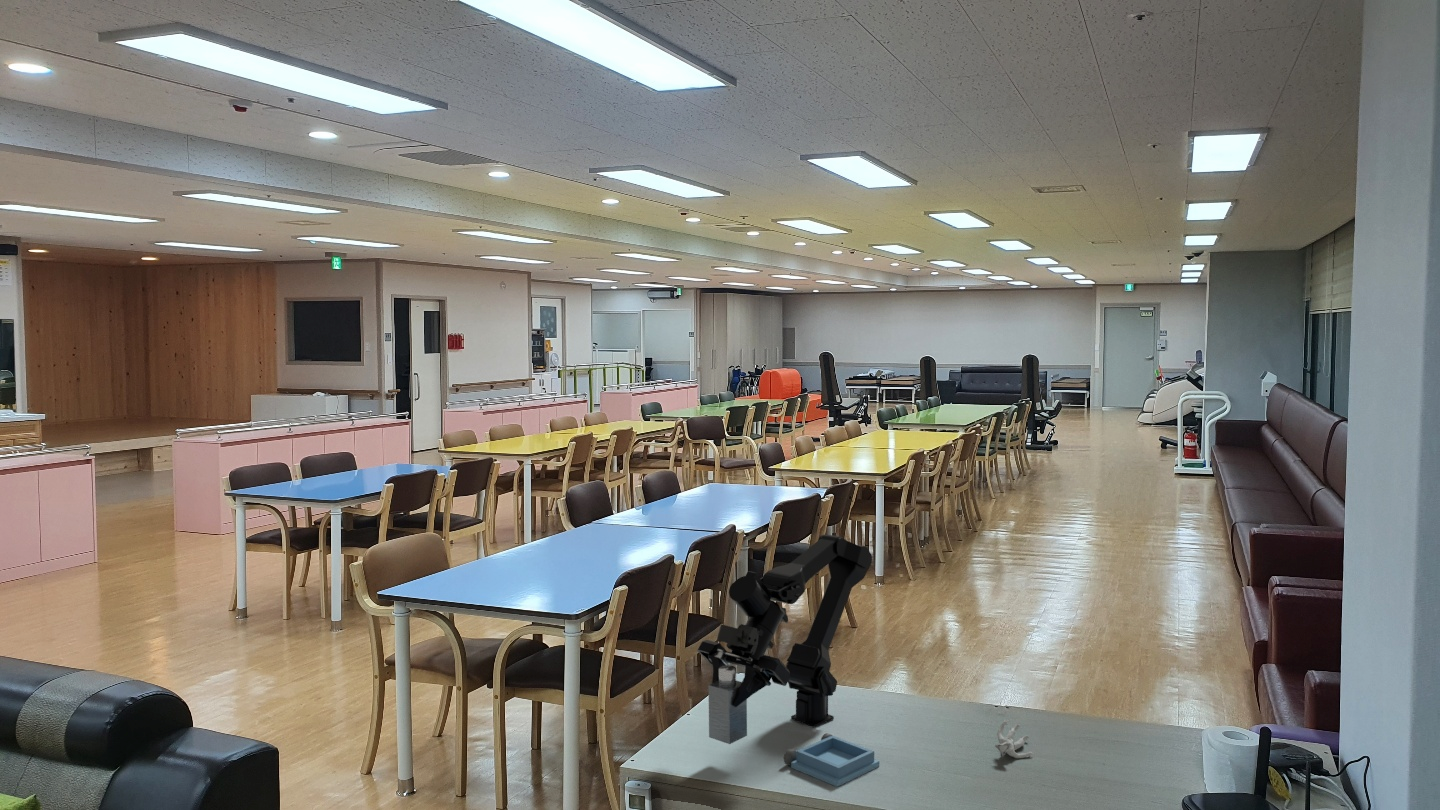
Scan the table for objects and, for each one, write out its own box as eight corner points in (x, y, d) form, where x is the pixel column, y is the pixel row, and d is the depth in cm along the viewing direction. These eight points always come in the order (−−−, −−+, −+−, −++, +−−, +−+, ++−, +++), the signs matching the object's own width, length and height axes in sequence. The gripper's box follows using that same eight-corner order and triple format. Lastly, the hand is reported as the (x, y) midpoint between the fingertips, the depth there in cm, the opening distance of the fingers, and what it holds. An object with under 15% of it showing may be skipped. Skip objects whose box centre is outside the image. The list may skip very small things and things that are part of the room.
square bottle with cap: (726, 728, 197) (725, 661, 196) (747, 735, 194) (746, 667, 193) (709, 737, 193) (708, 669, 192) (729, 744, 190) (729, 675, 189)
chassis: (830, 745, 202) (830, 730, 201) (881, 765, 193) (881, 749, 192) (783, 766, 192) (783, 750, 192) (834, 787, 184) (834, 771, 183)
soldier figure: (1039, 750, 201) (1033, 754, 191) (1020, 765, 202) (1012, 770, 191) (1012, 716, 205) (1004, 718, 194) (993, 731, 205) (984, 734, 195)
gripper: (702, 598, 200) (664, 669, 193) (780, 616, 188) (742, 692, 181) (729, 628, 207) (693, 698, 200) (806, 647, 195) (770, 722, 188)
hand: (722, 702), depth 192 cm, fingers closed on square bottle with cap, 5 cm apart
